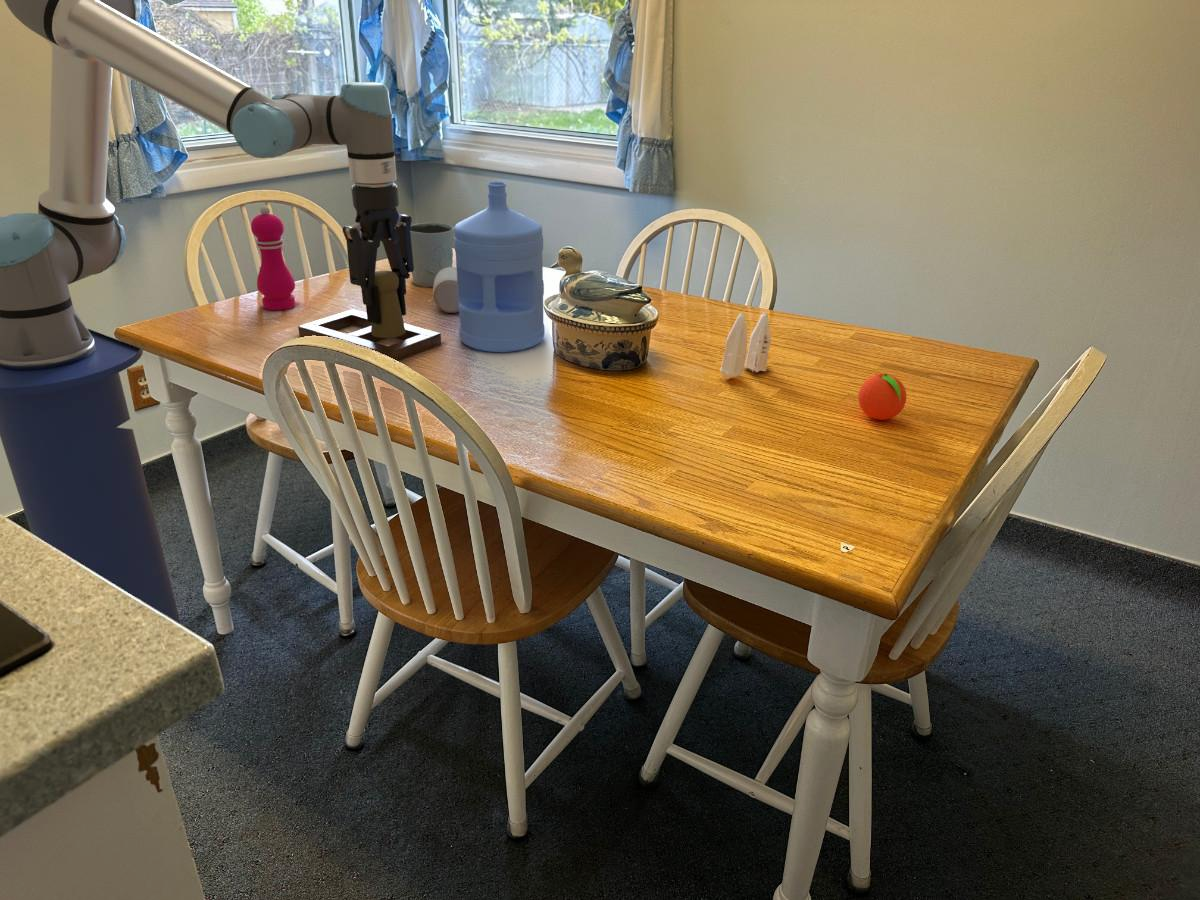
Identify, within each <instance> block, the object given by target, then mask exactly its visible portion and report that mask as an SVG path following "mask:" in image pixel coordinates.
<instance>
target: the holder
mask: <svg viewBox="0 0 1200 900" xmlns="http://www.w3.org/2000/svg"><path fill="white" fill-rule="evenodd" d="M371 324H372V322H369V321H367V312H365V311H360V310H357V309H353V308H352V309H349V310H346V311H343V312H338V313H336V314H333V315H329V316H327V317H323V318H320V319H317V320H314V321H310V322H308V323H307V322H306V323H304V324H301V325H297V330H298V335H299V336H298V337H301V338H303V337H304V336H312V335H316V336H328V337H333V338H337V339H341V340H345V341H348V342H351V343H354V344H356V345H360V346H364V347H367V348H370V349H372V350H375V351H378V352H380V353H382V354H385V355H387V356H389V357H391V358H393V359H395V360H397V361H400V360H403V359H406V358H407V357H411V356H412V355H415V354H418V353H420V352H421V353H422V352H423V351H425V350H428V349H431V348H434V347H435V346H438V345H442V333H441V332H437V331H433V330H430V329H427V328H423V327H419V326H416V325H412V324H409V323H405V322H404V326H405V331H406V332H405V333H404V334H403V335H401V336H398V337H397V338H399V339H401V341H398V342H395V343H393V344H391V345H385V344H382V343H378V342H376V341H379V340H382V339H383V338H379V337H375V336H373V335H372V334H371ZM352 325H353V326H356V327H360V328H361V329H358V330H355V331H352V332H349V333H344V332H341V331H337V330H340V329H343V328H346V327H349V326H352Z"/></svg>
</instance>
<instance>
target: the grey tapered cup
mask: <svg viewBox="0 0 1200 900" xmlns="http://www.w3.org/2000/svg"><path fill="white" fill-rule="evenodd" d="M454 228H455V227H453V226H452V225H450V224H448V223H441V222H423V223H421V222H420V223H414V224H411V227H410V233H411V244H412V254H413V264H414V271H413V272H411V276H412V277H411V278H412V282H413V284H414V285H416V286H419V287H426V288H433V286H434V280H435V277H436V275H437V274H438V272H439V271H441V270H442V269H444V268H447V267H453V263H454V261H453V257H454V253H453V251H454V250H453V249H454V235H455V234H454Z"/></svg>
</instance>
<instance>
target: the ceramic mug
mask: <svg viewBox="0 0 1200 900" xmlns="http://www.w3.org/2000/svg"><path fill="white" fill-rule="evenodd" d="M432 298H433V301H434V304H435V305H436V306H437V308H438V309H439V310H441V311H442V312H444V313H446V314H456V313H459V304H458V293H457V267H455V266H452V267H447V268H444V269H442V270H441V271H439V272H438V274H437V275H436V277H435V280H434V286H433V287H432Z"/></svg>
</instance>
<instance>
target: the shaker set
mask: <svg viewBox="0 0 1200 900" xmlns="http://www.w3.org/2000/svg"><path fill="white" fill-rule="evenodd" d="M749 338H750V339H749V343H748V332H747V323H746V315H745V313H743V312H740V313H739V314H738V315H737V317H736V320H735V322H734V323H733V325H732V328H731V329H730V331H729V333H728V335H727V337H726V341H725V347H724V353H723V357H722V361H721V366H720V368H719V371H720V373H721V375H722V376H723V377H724V379H725V380H729V379H733V378H735V377H738V376H741V375H743V374H745V371H744V369H749V370H751V371H752V373H754V372H755V373H759V372H760V371H762V372H766V371H768V370H767V367H768V359H769V353H770V347H771V341H772V339H771V329H770V321H769V314H768V312H766V311H764V312H763V313H762V314H761V315H760V317H759V319H758V321H757V322H756V325H755V327H754V328H753V331H752V332H751V334H750V337H749ZM747 348H748V349H747Z"/></svg>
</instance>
